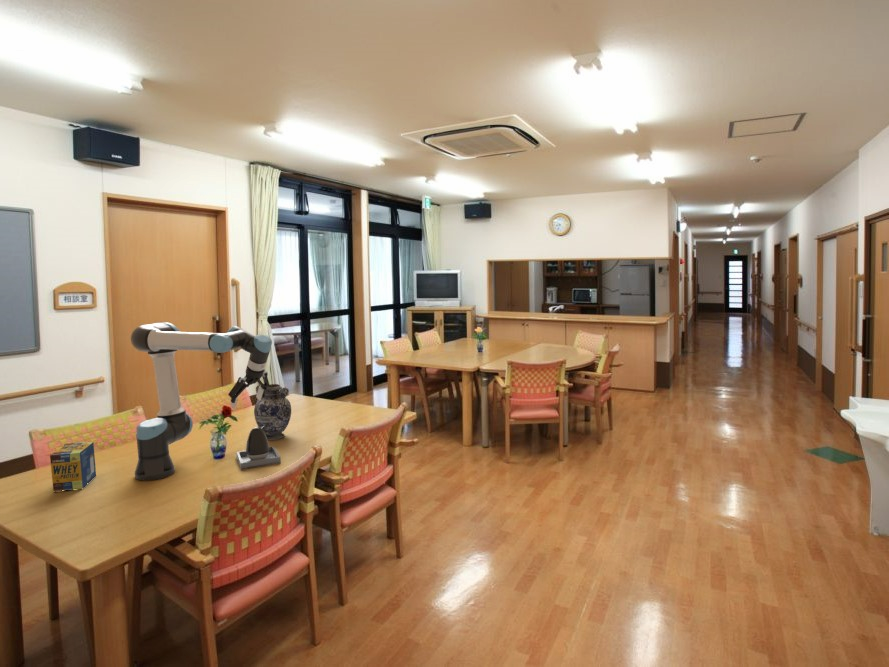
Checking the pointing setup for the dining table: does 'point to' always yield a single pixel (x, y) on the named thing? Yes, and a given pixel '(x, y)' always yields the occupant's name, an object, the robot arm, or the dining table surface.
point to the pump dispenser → (257, 444)
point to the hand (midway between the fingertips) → (245, 402)
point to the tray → (248, 463)
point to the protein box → (73, 466)
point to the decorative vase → (273, 411)
